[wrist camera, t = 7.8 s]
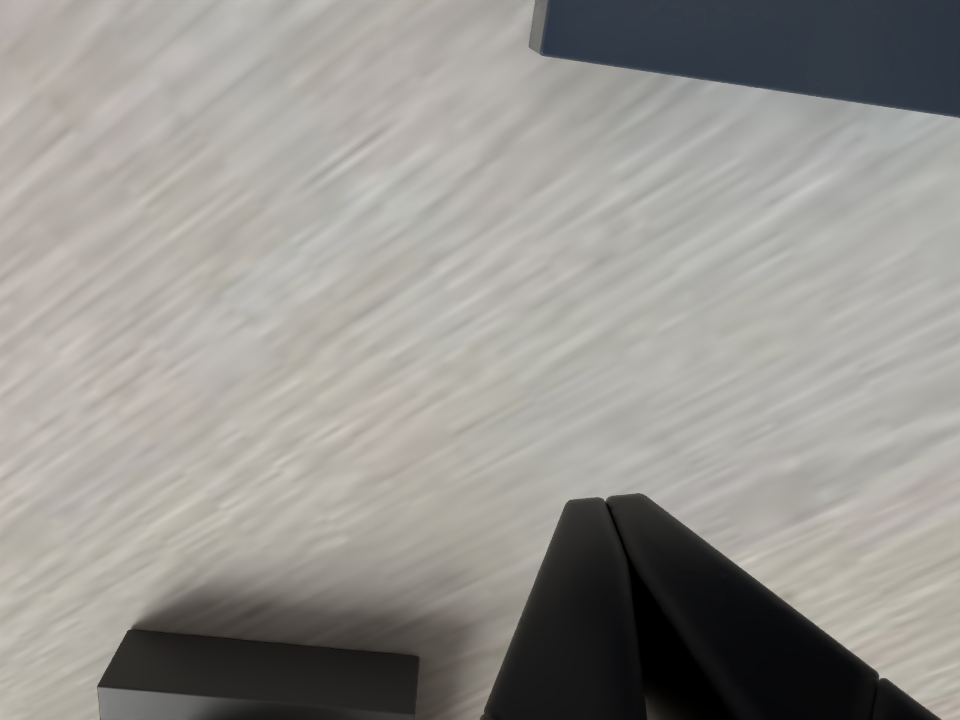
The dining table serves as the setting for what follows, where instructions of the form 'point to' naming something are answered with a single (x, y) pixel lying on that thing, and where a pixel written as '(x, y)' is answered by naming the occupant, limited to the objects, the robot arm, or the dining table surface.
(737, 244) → the dining table surface
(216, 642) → the switch box
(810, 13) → the console
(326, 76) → the dining table surface
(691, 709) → the robot arm
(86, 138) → the dining table surface
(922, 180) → the dining table surface
